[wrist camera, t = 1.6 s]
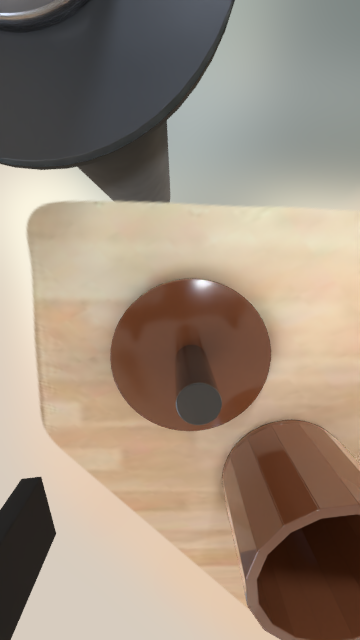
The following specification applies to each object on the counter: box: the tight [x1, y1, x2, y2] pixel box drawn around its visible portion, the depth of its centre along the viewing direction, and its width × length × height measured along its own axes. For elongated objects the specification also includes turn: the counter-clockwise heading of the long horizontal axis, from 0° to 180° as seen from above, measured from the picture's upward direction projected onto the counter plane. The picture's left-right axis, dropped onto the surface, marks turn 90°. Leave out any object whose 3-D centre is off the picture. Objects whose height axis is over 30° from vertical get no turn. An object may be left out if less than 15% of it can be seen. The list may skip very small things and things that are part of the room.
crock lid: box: [111, 278, 271, 431], centre depth 21 cm, size 14×14×9 cm
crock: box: [223, 420, 360, 640], centre depth 24 cm, size 13×13×10 cm
